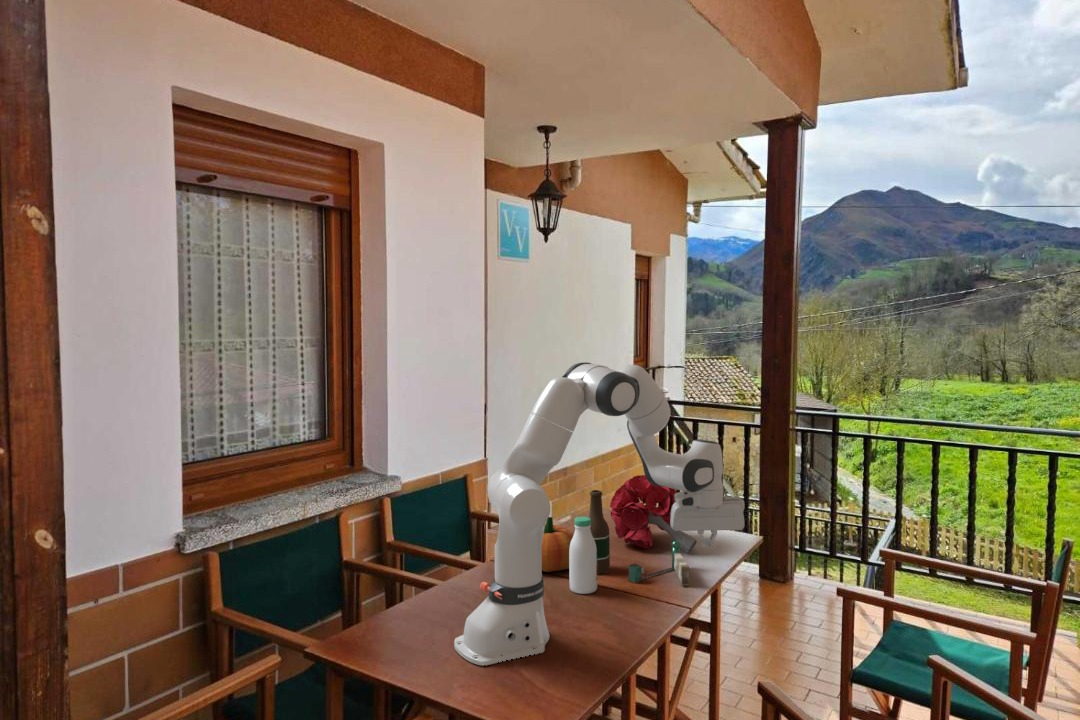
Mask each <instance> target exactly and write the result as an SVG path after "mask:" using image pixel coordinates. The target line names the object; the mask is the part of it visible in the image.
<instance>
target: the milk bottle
mask: <svg viewBox="0 0 1080 720" xmlns="http://www.w3.org/2000/svg"><path fill="white" fill-rule="evenodd" d="M574 527H575V529H574V532H573V534H574V536H573V538H572V540H571V543H570V549H569V568H568V570H569V573H568V574H569V575H568V576H569V579H568V580H569V589H570V591H571V592H573V593H575V594H579V595H585V594H586V595H587V594H593V593H594V592H596V591H597V589H598V575H597V548H596V543H595V541H594V538H593V536H592V534H591V530H590V527H591V519H590V518H589V516H576V517H575V518H574Z"/></svg>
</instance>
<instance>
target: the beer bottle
mask: <svg viewBox="0 0 1080 720" xmlns="http://www.w3.org/2000/svg"><path fill="white" fill-rule="evenodd" d="M589 496H590V503H589V505H590V506H589V515H588V517H589V518H590V519H591V527H590V530H591V534H592V536H593V538H594V541H595V543H596V548H597V574H598V575H603V574H602V573H605V574H606V572H607V571H608V570H609V571H610V565H611V563H610V562H611V561H610V559H611V557H610V555H611V554H610V551H611V549H610V548H611V547H610V541H611V540H610V536H611V535H610V528H609V524H608V522H607V521H606V519H605V518H604V513H603V502H602V501H603V499H602V496H603V492H602V491H601V490H600V489H593V490H591V491H590V492H589ZM607 573H608V572H607Z"/></svg>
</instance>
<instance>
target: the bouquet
mask: <svg viewBox="0 0 1080 720" xmlns="http://www.w3.org/2000/svg"><path fill="white" fill-rule="evenodd" d="M676 493H678V492H677V490H676V489H672V488H668V487H661V486H654V485H652V484H651V483H649V481H648V480H647V478H646V476H645V474H641V475H640V474H639V475H635V476H633V477H632V478H629V479H628V480H626V481H625V482H624V483H623V485H621V486H620V487H619V488H617V489H616V490H615V492H614V495H612V497H611V500H610V503H609V507H610V509H611V510H610V517H611V519H612V521H613V522H614V524H615V526H614V528H615V532H616V533H615V534H616V537H617V539H623V540H624V543H625V544H629V543H630V544H632V545H635V546H637V547H641V548H643V547H644V548H643V549H646V548H647V549H651V547H653V533H652V531H651V526H650V525H654V526H657V528H658V529H660V530H661V531H664V532H666V533H667V534H668V535H669V536H670V537H671V539H672V540H673V541H674V540H678V541H679V542H680V544H681V547H680V549H681V550H683V551H684V552H685V553H687V554H689V553H690V552H691V551H692V549H693V548H694V547H695V545H696V544H697V539H696V538H694V537H693V536H692V535H690V534H687V533H686V532H685V531H674V530H673V529H672V527H671V525H670V518H671V509H672V506H673V504H674V503H675V498H674V495H675V494H676ZM657 504H660V505H657ZM688 552H689V553H688Z"/></svg>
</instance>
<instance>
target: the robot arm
mask: <svg viewBox="0 0 1080 720" xmlns="http://www.w3.org/2000/svg"><path fill="white" fill-rule="evenodd" d="M588 409H589V410H591V411H593V412H597V413H599V414H604V415H605V416H609V417H620V416H623V415H625V417H626V419H627V421H626V427H627V431H628V433H629V436H630V438H631V441H632V443H633V445H634V447H635V450H636V452H637V453H638V457H639V458H640V462H641V464H642V468H643V472H644V475H645V476H646V478H647V480H648V481H649V483H651V484H652V485H654V486H661V487H668V488H672V489H675V490H676V491H678V492H677V493H676V494H675V495H674V498H675V503H674V504H673V506H672V509H671V518H670V525H671V527H672V529H673V530H674V531H682V532H696V531H697V534H698V536H699V537H700V539H701V546H702V547H708V546H709V547H713V546H714V540H715V538H716V537H717V535H718V531H742V530H743V529H745V526H746V525H745V516H744V511H745V505H746V504H745V500H744V499H743V498H741V497H740V496H737V495H735V496H729V495H728V496H725V495H724V484H723V481H722V475H723V473H724V472H723V471H724V462H723V460H724V459H723V452H722V448H721V445H720V444H719V442H717V441H714V440H708V439H707V440H706V439H694V440H693V441H692V442H691V447H690V448H689V450H688V451H686V452H685V453H683V454H680V453H674V452H670V451H667V450H665V449H663V448H662V447H660V446H659V444H658V442H657V439H656V436H655V435H656V434H658V433H659V432H661V431H662V430H663V429H664V428H665V426H667V424H668V422H669V420H670V417H671V412H672V411H671V407H670V404H669V402H668V400H667V398H666V396H665V395H664V393H663V391H662V390H661V388H660V387H659V385H658V384H657V382H656V381H655V379H654V377H652V375H650V374H649V372H648V371H647V370H646V369H644V368H643V367H642V366H640V365H637V364H631V365H630V364H629V365H626V366H624V367H622V368H620V369H619V370H618V371H617V370H614V369H611V368H609V367H608V366H604V365H602V364H597V363H596V364H595V363H592V362H587V361H586V362H578V363H575V364H573V365H572V366H570V367H569V368H568V369H567V370H566V371H565V373H564V374H563V375H562V376H559V377H553V378H552V379H551V380H550V381H549V382H548V383H547V385H546V386H545V387H544V389H543V390H542V392H541V393H540V395H539V396H538V398H537V400H536V401H535V404H534V405H533V408H532V409H531V411H530V414H529V416H528V418H527V420H526V422H525V424H524V427H523V429H522V430H521V432H520V435H519V436H518V438H517V441H516V443H515V444H514V446H513V447H512V449H511V450H510V451H509V453H508V454H507V456H506V457H505V459H504V460H503V462H502V463H501V465H500V467H499V468H498V470H496V471H495V472H494V473H493V474H491V477H490V478H489V479H488V482H487V487H486V488H487V497H488V501H489V502H490V504H491V506H492V507H493V508H494V509H495V511H497V515H498V521H499V523H498V532H497V539H496V543H495V544H494V549H493V551H494V552H493V553H494V578H493V580H492V583H491V584H489V583H488V582H486V581H483V582H481V583H480V585H479V589H480V590H481V591H483V592H484V593H488V596H487V597H486V598H485V599H484V600H483V601H482V602H481V604H479V605H478V606H477V607H476V608H475V609H474V610H473V611H472V612H471V613H470V614H469V615H468V616H467V618H466V619H465V623H464V628H463V634H462V635H459V636H458V637H455V639H454V642H453V646H454V650H455V651H456V652H457V654H459V655H460V657H462V658H464V659H465V660H466V661H468V662H470V663H471V664H475V665H478V666H482V667H485V666H488V665H495V664H497V663H498V662H499V663H503V662H507V661H506V660H508V661H512V660H511V659H513V660H517V659H520V657H522V658H526V657H530V656H529V655H531V656H534V654H535V655H539V653H540V654H543V653H545V650H546V648H545V647H546V644H547V643H548V642H549V640H550V633H549V629H548V626H547V621H546V617H545V609H544V599H543V598H544V594H545V582H544V576H543V573H542V572H543V571H542V553H541V551H542V539H543V534H544V528H545V525H546V522H547V519H548V517H550V515H551V503H550V500H549V497H548V495H547V492H546V491H545V489H544V488H543V486H541V484H542V482H543V481H544V479H545V478H546V477H547V475H548V474H549V473H550V472H551V470H552V469H553V468H554V467H556V466H557V465H558V464H559V463H560V461H561V460H562V457H563V455H564V454H565V452H566V449H567V446H568V444H569V442H570V440H571V438H572V436H573V433H574V431H575V429H576V426H577V424H578V423H579V418H580V417H581V416H582V414H583V413H584V412H586V410H588ZM679 491H680V492H679ZM705 531H708V532H710V536H709V537H704V536H703V535H704V534H705ZM525 656H526V657H525ZM516 658H517V659H516ZM502 661H503V662H502ZM499 663H498V664H499ZM484 665H485V666H484Z"/></svg>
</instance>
